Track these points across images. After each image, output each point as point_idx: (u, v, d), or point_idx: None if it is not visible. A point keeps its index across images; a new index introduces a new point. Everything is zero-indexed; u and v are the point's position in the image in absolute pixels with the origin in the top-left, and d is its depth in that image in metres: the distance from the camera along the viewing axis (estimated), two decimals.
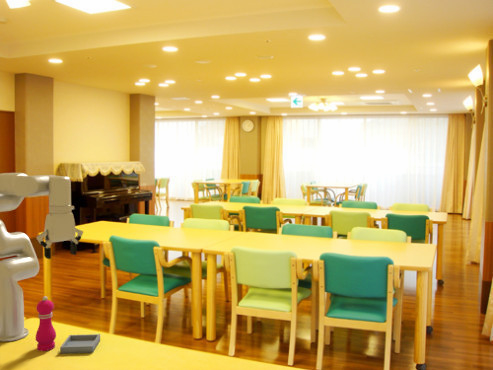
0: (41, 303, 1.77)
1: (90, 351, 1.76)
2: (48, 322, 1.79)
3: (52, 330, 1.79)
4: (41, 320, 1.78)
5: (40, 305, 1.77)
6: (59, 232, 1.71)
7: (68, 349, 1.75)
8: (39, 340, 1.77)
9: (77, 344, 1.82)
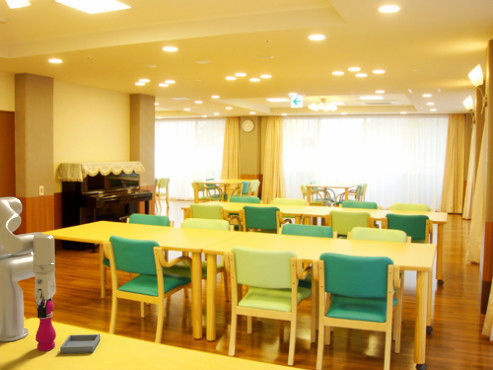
0: None
1: (90, 351, 1.76)
2: (48, 322, 1.79)
3: (52, 330, 1.79)
4: (41, 320, 1.78)
5: None
6: None
7: (68, 349, 1.75)
8: (39, 340, 1.77)
9: (77, 344, 1.82)
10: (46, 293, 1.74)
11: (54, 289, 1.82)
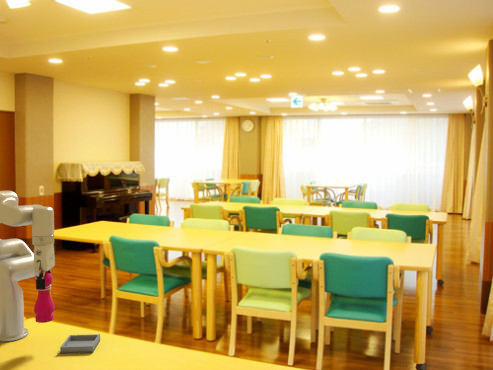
0: None
1: (90, 351, 1.76)
2: (47, 294, 1.78)
3: (50, 302, 1.79)
4: (40, 292, 1.77)
5: None
6: None
7: (68, 349, 1.75)
8: (37, 312, 1.76)
9: (77, 344, 1.82)
10: (45, 264, 1.74)
11: (53, 261, 1.81)
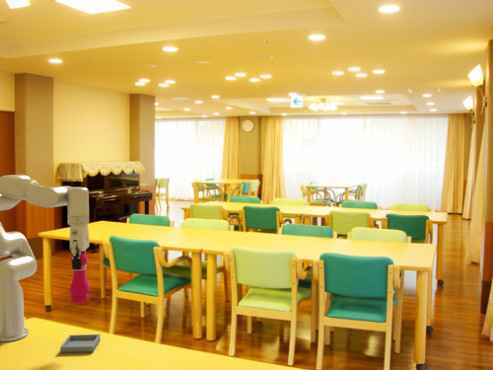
0: None
1: (90, 351, 1.76)
2: (82, 274, 1.78)
3: (86, 282, 1.79)
4: (75, 272, 1.78)
5: None
6: None
7: (68, 349, 1.75)
8: (73, 292, 1.77)
9: (77, 344, 1.82)
10: (81, 244, 1.74)
11: (88, 242, 1.82)
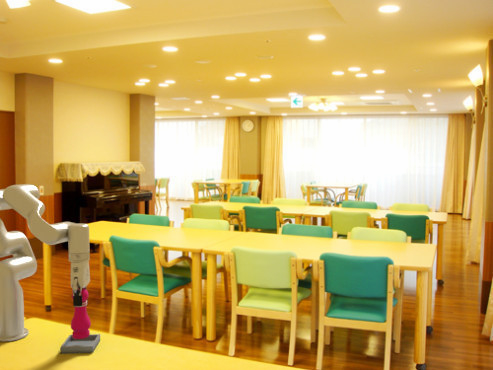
0: None
1: (90, 351, 1.76)
2: (83, 310, 1.79)
3: (87, 318, 1.80)
4: (76, 308, 1.79)
5: None
6: None
7: (68, 349, 1.75)
8: (75, 328, 1.77)
9: (77, 344, 1.82)
10: (82, 281, 1.75)
11: (88, 278, 1.82)
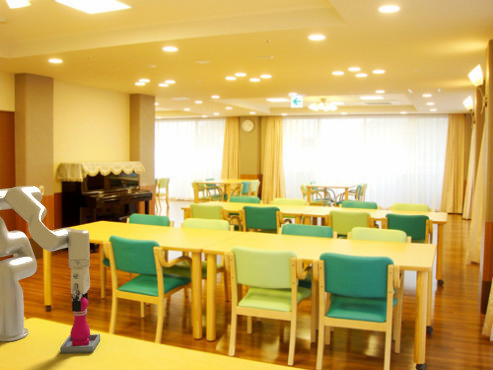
0: None
1: (90, 351, 1.76)
2: (83, 319, 1.80)
3: (87, 327, 1.80)
4: (76, 317, 1.79)
5: None
6: None
7: (68, 349, 1.75)
8: (74, 337, 1.78)
9: None
10: (82, 288, 1.75)
11: (89, 284, 1.83)
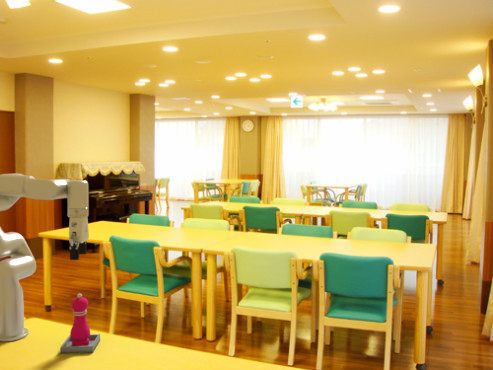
0: (76, 300, 1.78)
1: (90, 351, 1.76)
2: (83, 319, 1.80)
3: (87, 327, 1.80)
4: (76, 317, 1.79)
5: (75, 302, 1.78)
6: None
7: (68, 349, 1.75)
8: (74, 337, 1.78)
9: None
10: (80, 236, 1.76)
11: (87, 234, 1.83)
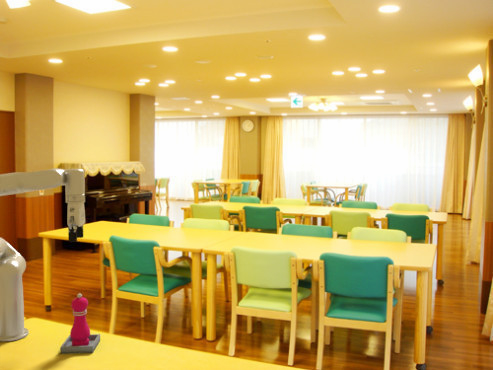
0: (76, 300, 1.78)
1: (90, 351, 1.76)
2: (83, 319, 1.80)
3: (87, 327, 1.80)
4: (76, 317, 1.79)
5: (75, 302, 1.78)
6: None
7: (68, 349, 1.75)
8: (74, 337, 1.78)
9: None
10: (78, 220, 1.91)
11: (84, 219, 1.99)
